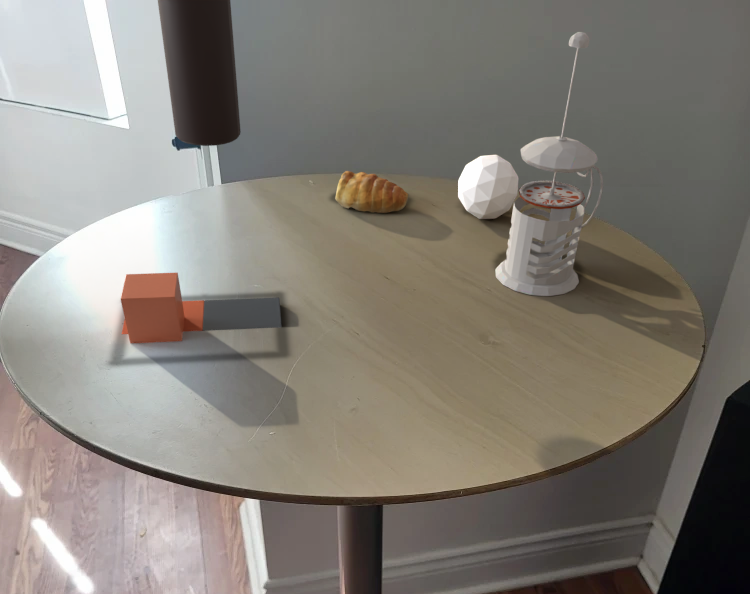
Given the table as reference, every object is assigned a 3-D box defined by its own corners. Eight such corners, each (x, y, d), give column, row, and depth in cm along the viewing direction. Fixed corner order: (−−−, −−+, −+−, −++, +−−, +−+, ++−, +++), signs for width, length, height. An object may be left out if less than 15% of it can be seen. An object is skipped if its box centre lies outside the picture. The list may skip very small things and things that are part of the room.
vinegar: (161, 138, 81) (126, -105, 67) (205, 121, 85) (180, -110, 71) (211, 152, 78) (185, -98, 65) (254, 134, 82) (238, -103, 69)
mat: (116, 372, 74) (114, 365, 74) (129, 309, 83) (127, 303, 82) (284, 364, 76) (284, 357, 75) (279, 303, 85) (279, 297, 84)
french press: (478, 267, 92) (508, 25, 75) (554, 248, 97) (599, 15, 80) (529, 303, 86) (574, 49, 69) (608, 281, 90) (669, 37, 73)
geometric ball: (468, 231, 106) (453, 171, 105) (526, 213, 104) (512, 152, 103) (462, 224, 99) (447, 160, 98) (525, 204, 97) (509, 138, 95)
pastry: (412, 200, 106) (414, 172, 104) (399, 220, 102) (400, 191, 99) (347, 191, 108) (347, 163, 106) (331, 209, 103) (331, 181, 101)
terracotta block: (130, 345, 76) (120, 298, 73) (135, 319, 80) (125, 274, 76) (182, 342, 77) (174, 296, 73) (184, 317, 80) (177, 272, 77)
